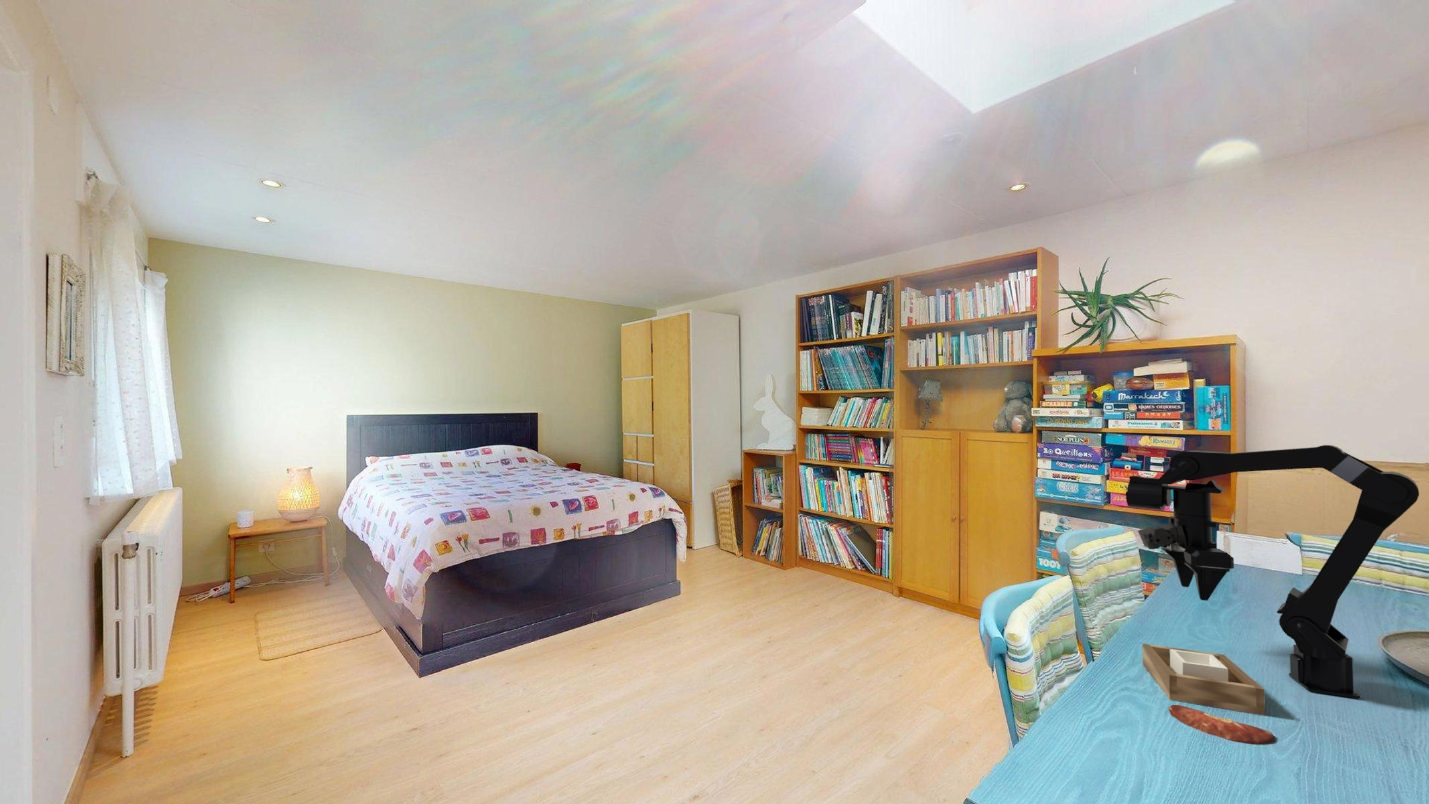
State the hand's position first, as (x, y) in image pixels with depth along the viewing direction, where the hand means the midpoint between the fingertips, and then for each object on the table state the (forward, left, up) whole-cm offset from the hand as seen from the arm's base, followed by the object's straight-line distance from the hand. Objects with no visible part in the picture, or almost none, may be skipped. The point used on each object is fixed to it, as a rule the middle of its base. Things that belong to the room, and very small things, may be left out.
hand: (1194, 593), depth 109 cm
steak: (+7, +31, -13) cm, 34 cm away
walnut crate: (+5, +17, -12) cm, 21 cm away
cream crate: (+5, +17, -11) cm, 21 cm away
